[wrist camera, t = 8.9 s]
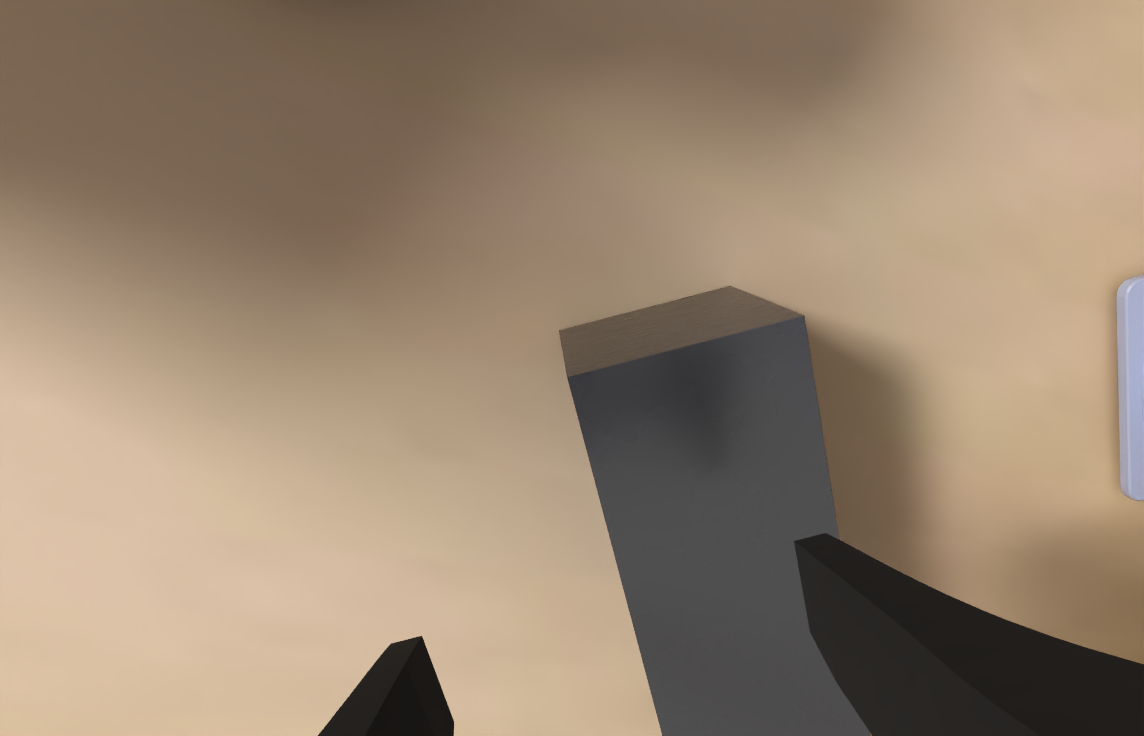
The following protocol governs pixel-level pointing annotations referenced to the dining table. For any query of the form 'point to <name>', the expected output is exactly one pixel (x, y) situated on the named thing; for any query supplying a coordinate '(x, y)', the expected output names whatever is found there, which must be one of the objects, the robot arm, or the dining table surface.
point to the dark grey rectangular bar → (713, 506)
